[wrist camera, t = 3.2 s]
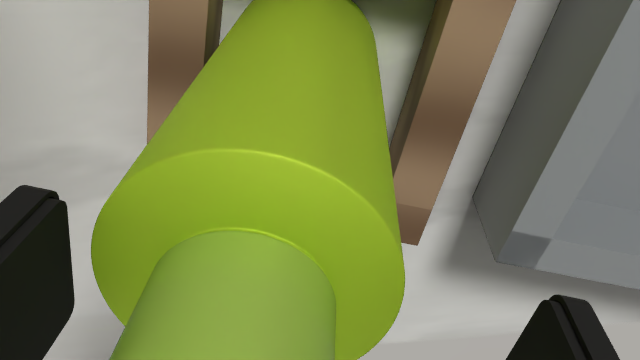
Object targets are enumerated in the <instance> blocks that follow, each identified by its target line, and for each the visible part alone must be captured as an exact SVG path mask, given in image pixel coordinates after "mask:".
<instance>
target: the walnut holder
mask: <svg viewBox="0 0 640 360" xmlns="http://www.w3.org/2000/svg"><path fill="white" fill-rule="evenodd" d="M515 2H516V0H437V1H436V4H435V7H434V11H433V14H432V17H431V20H430V23H429V26H428V29H427V32H426V36H425V39H424V42H423V45H422V48H421V51H420V54H419V58H418V61H417V64H416V67H415V70H414V73H413V76H412V79H411V83H410V86H409V89H408V92H407V95H406V98H405V101H404V105H403V108H402V111H401V114H400V117H399V120H398V123H397V127H396V130H395V133H394V136H393V139H392V142H391V145H390V148H389V152H390V160H391V168H392V176H393V183H394V191H395V199H396V207H397V215H398V223H399V230H400V238H401V243H406V244H411V245H417V246H418V243H419V241H420V238H421V236H422V233H423V231H424V228H425V226H426V223H427V221H428V218H429V216H430V213H431V211H432V208H433V206H434V203H435V201H436V198H437V196H438V193H439V191H440V188H441V186H442V184H443V181H444V179H445V176H446V174H447V171H448V169H449V166H450V164H451V161H452V159H453V156H454V154H455V151H456V149H457V146H458V144H459V141H460V139H461V136H462V134H463V131H464V129H465V126H466V124H467V121H468V119H469V117H470V114H471V112H472V109H473V107H474V104H475V102H476V99H477V97H478V94H479V92H480V89H481V87H482V84H483V82H484V79H485V77H486V74H487V72H488V69H489V67H490V64H491V62H492V59H493V57H494V54H495V52H496V50H497V47H498V45H499V42H500V40H501V37H502V35H503V32H504V30H505V27H506V25H507V22H508V20H509V17H510V15H511V12H512V10H513V7H514V5H515ZM222 6H223V0H149V51H148V117H147V144H148V143H149V142H150V140H151V139H152V137H153V136H154V135H155V133H156V132H157V131H158V129H159V128H160V126H161V125H162V124H163V122H164V121H165V120H166V118H167V117H168V115H169V114H170V113H171V111H172V110H173V108H174V107H175V106H176V104H177V103H178V102H179V100H180V99H181V97H182V96H183V95H184V93H185V92H186V91H187V89H188V88H189V86H190V85H191V84H192V82H193V81H194V80H195V78H196V77H197V75H198V74H199V73H200V71H201V70H202V68H203V67H204V66H205V64H206V63H207V62H208V60H209V59H210V57H211V56H212V55H213V53H214V52H215V51H216V49H217V48H218V46H219V38H220V27H221V16H222Z"/></svg>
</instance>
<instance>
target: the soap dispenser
mask: <svg viewBox="0 0 640 360" xmlns="http://www.w3.org/2000/svg"><path fill="white" fill-rule="evenodd" d="M91 259H92V266H93V271H94V275H95V278H96V281H97V284H98V287H99V289H100V291H101V293H102V295H103V297H104V299H105V301H106V302H107V304H108V306H109V307H110V309H111V310H112V311H113V313H114V314H115V315H116V317H117V318H118V319H119V320H120V321H121V322H122V324H123V325H124V326H125V329H124V331H123V333H122V335H121V337H120V339H119V341H118V343H117V345H116V347H115V349H114V351H113V353H112V355H111V357H110V359H109V360H357V359H359V358H360V357H361V356H363V355H364V354H366V353H367V352H369V351H370V350H371V349H372V348H373V347H374V346H375V345H376V344H377V343H378V342H379V341H380V340H381V339H382V338H383V337H384V336H385V335H386V333H387V332H388V331H389V329H390V328H391V326H392V324H393V323H394V321H395V319H396V317H397V315H398V313H399V310H400V307H401V304H402V300H403V296H404V288H405V270H404V262H403V254H402V246H401V238H400V230H399V223H398V215H397V207H396V199H395V191H394V183H393V176H392V168H391V160H390V152H389V144H388V136H387V129H386V121H385V113H384V105H383V97H382V89H381V82H380V74H379V66H378V58H377V50H376V43H375V38H374V35H373V32H372V29H371V27H370V24H369V22H368V20H367V19H366V17H365V15H364V14H363V13H362V11H361V10H360V9H359V7H358V6H357V5H356V4H355V3H354V2H353V1H352V0H253V1H252V2H251V3H250V4H249V5H248V7H247V8H246V9H245V11H244V12H243V13H242V15H241V16H240V17H239V19H238V20H237V22H236V23H235V24H234V26H233V27H232V28H231V30H230V31H229V33H228V34H227V35H226V37H225V38H224V40H223V41H222V42H221V44H220V45H219V46H218V48H217V49H216V51H215V52H214V53H213V55H212V56H211V57H210V59H209V60H208V62H207V63H206V64H205V66H204V67H203V68H202V70H201V71H200V73H199V74H198V75H197V77H196V78H195V80H194V81H193V82H192V84H191V85H190V86H189V88H188V89H187V91H186V92H185V93H184V95H183V96H182V97H181V99H180V100H179V102H178V103H177V104H176V106H175V107H174V108H173V110H172V111H171V113H170V114H169V115H168V117H167V118H166V120H165V121H164V122H163V124H162V125H161V126H160V128H159V129H158V131H157V132H156V133H155V135H154V136H153V137H152V139H151V140H150V142H149V143H148V144H147V146H146V147H145V148H144V150H143V151H142V153H141V154H140V155H139V157H138V158H137V160H136V161H135V162H134V164H133V165H132V166H131V168H130V169H129V171H128V172H127V173H126V175H125V176H124V177H123V179H122V180H121V182H120V183H119V184H118V186H117V187H116V188H115V190H114V191H113V193H112V194H111V195H110V197H109V198H108V200H107V201H106V203H105V204H104V206H103V208H102V209H101V211H100V214H99V216H98V218H97V221H96V223H95V227H94V230H93V235H92V242H91Z"/></svg>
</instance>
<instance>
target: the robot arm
mask: <svg viewBox="0 0 640 360" xmlns="http://www.w3.org/2000/svg"><path fill="white" fill-rule="evenodd" d="M73 308H74V288H73V275H72V263H71V250H70V238H69V225H68V212H67V205H66V203H65V201H62V200H59V196H58V194H57V192H55V191H52V190H47V189H42V188H37V187H32V186H27V185H22V186H19V187H18V188H16V189H15V190H14V191H13V192H12V193H11V194H10V195H9V196H8V197H6V198H5V199H4V200H3V201H2V202H1V203H0V360H42V359H43V358H44V356H45V355H46V353H47V352H48V350H49V349H50V347H51V346H52V344H53V343H54V341H55V340H56V338H57V337H58V335H59V334H60V332H61V331H62V329H63V328H64V326H65V325H66V323H67V322H68V320H69V318H70V316H71V314H72V311H73ZM506 360H620V359H619V357H618V355H617V353H616V351H615V349H614V348H613V346H612V344H611V342H610V340H609V338H608V337H607V335H606V333H605V331H604V329H603V327H602V325H601V323H600V321H599V320H598V318H597V316H596V314H595V312H594V310H593V308H592V306H591V305H590V304H589V303H588V302H587V301H585V300H582V299H577V298H572V297H567V296H562V295H554V296H552V297H551V298H550V299H549V300H543V301H542V302H541V303H540V304H539V306H538V308H537V309H536V311H535V312H534V314H533V316H532V317H531V319H530V321H529V322H528V324H527V326H526V327H525V329H524V330H523V332H522V334H521V335H520V337H519V339H518V341H517V342H516V344H515V345H514V347H513V349H512V350H511V352H510V353H509V355H508V357H507V358H506Z"/></svg>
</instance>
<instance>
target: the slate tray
mask: <svg viewBox="0 0 640 360" xmlns="http://www.w3.org/2000/svg"><path fill="white" fill-rule="evenodd" d="M472 198H473V200H474V203H475V206H476V209H477V212H478V214H479V217H480V220H481V223H482V226H483V228H484V231H485V234H486V237H487V240H488V242H489V245H490V248H491V251H492V253H493V256H494V259H495V262H499V263H504V264H509V265H514V266H520V267H525V268H530V269H535V270H540V271H545V272H550V273H556V274H561V275H566V276H571V277H576V278H581V279H586V280H592V281H597V282H602V283H607V284H612V285H617V286H622V287H628V288H633V289H638V290H640V0H561V2H560V4H559V7H558V9H557V11H556V13H555V15H554V18H553V20H552V22H551V24H550V27H549V29H548V31H547V33H546V35H545V38H544V40H543V42H542V44H541V47H540V49H539V51H538V53H537V55H536V58H535V60H534V62H533V64H532V67H531V69H530V71H529V73H528V75H527V78H526V80H525V82H524V84H523V87H522V89H521V91H520V93H519V95H518V98H517V100H516V102H515V104H514V106H513V109H512V111H511V113H510V115H509V118H508V120H507V122H506V124H505V126H504V129H503V131H502V133H501V135H500V138H499V140H498V142H497V144H496V146H495V149H494V151H493V153H492V155H491V158H490V160H489V162H488V164H487V166H486V169H485V171H484V173H483V175H482V178H481V180H480V182H479V184H478V186H477V189H476V191H475V193H474V195H473V197H472Z"/></svg>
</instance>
